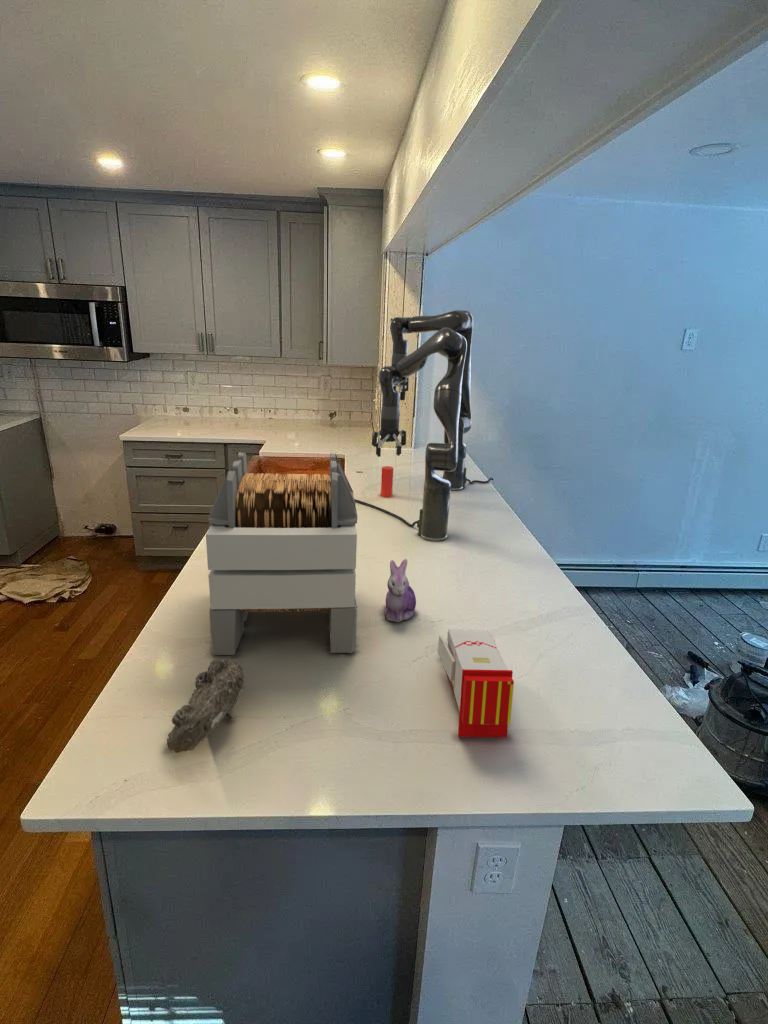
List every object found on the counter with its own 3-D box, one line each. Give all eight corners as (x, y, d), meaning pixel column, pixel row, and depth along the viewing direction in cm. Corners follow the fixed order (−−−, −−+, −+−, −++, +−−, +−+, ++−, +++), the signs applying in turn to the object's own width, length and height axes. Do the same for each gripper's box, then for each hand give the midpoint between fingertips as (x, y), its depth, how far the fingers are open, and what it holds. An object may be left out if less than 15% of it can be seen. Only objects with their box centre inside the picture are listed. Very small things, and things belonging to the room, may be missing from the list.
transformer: (231, 586, 157) (223, 443, 144) (349, 585, 161) (352, 445, 147) (209, 657, 126) (197, 482, 112) (356, 653, 129) (362, 483, 116)
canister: (387, 498, 237) (389, 469, 233) (378, 495, 239) (379, 467, 235) (394, 495, 241) (395, 467, 237) (384, 493, 243) (386, 465, 239)
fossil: (192, 660, 117) (244, 628, 112) (224, 691, 120) (276, 661, 115) (142, 746, 98) (202, 712, 93) (182, 779, 101) (242, 748, 96)
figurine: (392, 627, 141) (395, 572, 136) (374, 608, 149) (376, 556, 144) (425, 619, 145) (429, 566, 140) (405, 601, 154) (408, 550, 149)
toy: (488, 613, 130) (523, 677, 101) (484, 667, 133) (517, 744, 104) (435, 612, 130) (455, 676, 101) (432, 666, 133) (451, 743, 103)
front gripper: (402, 414, 234) (400, 452, 240) (370, 415, 229) (369, 454, 235) (410, 418, 228) (407, 457, 233) (376, 419, 223) (375, 459, 228)
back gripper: (385, 361, 264) (383, 396, 270) (400, 364, 252) (398, 401, 258) (399, 361, 268) (397, 396, 273) (414, 364, 256) (412, 400, 261)
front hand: (388, 455), depth 234 cm, fingers open, 8 cm apart
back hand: (397, 398), depth 266 cm, fingers open, 8 cm apart
